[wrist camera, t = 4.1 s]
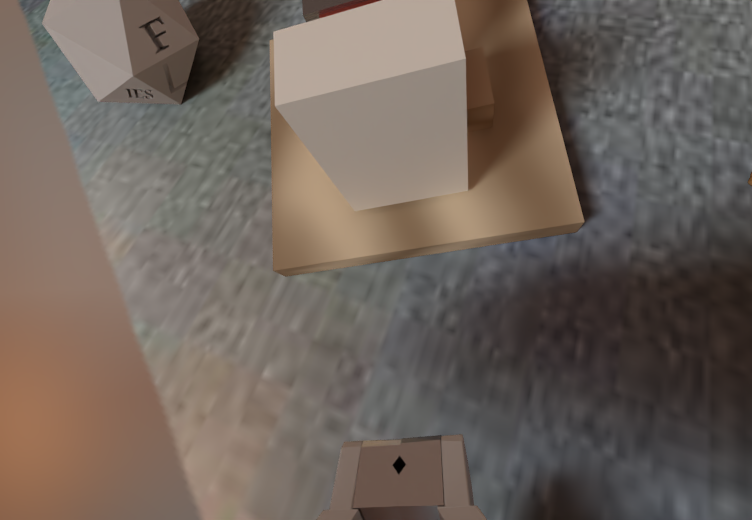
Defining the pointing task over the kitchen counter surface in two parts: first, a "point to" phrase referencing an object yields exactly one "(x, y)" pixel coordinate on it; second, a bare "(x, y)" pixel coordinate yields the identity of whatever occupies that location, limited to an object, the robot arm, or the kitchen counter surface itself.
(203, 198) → the kitchen counter surface
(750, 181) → the lion figurine
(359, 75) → the white rectangular block
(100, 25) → the die
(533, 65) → the tan square base board
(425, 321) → the kitchen counter surface
